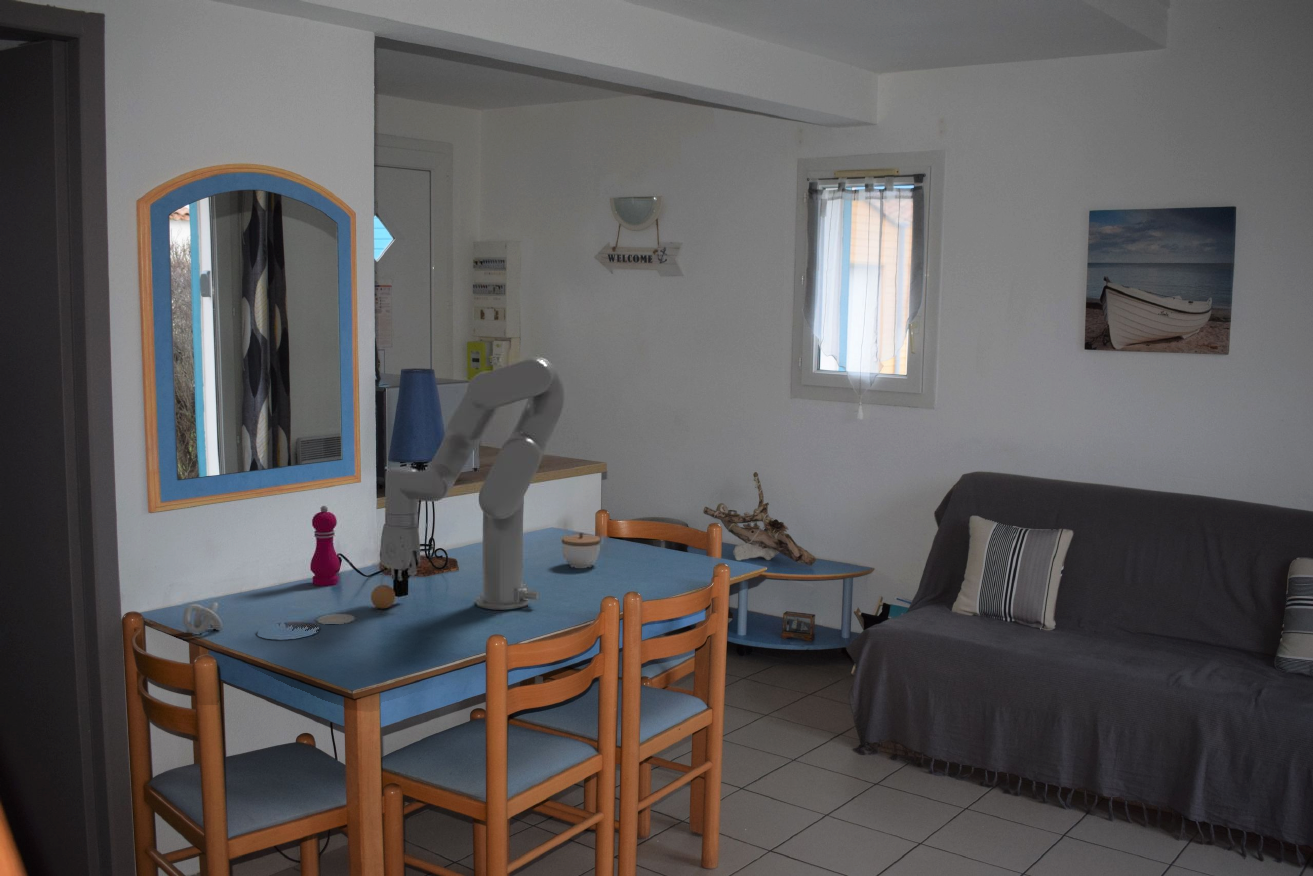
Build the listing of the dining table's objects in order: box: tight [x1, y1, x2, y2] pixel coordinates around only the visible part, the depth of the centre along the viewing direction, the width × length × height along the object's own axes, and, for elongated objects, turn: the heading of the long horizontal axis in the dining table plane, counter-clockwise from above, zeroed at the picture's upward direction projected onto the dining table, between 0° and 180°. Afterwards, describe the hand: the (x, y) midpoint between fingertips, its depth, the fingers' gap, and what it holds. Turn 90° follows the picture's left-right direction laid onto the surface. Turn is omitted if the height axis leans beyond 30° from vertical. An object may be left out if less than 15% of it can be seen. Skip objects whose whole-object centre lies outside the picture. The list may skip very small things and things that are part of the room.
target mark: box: [277, 621, 321, 632], centre depth 235 cm, size 13×13×1 cm
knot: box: [182, 601, 223, 634], centre depth 234 cm, size 8×8×6 cm
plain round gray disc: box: [316, 613, 355, 625], centre depth 244 cm, size 8×8×1 cm
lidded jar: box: [561, 531, 602, 569], centre depth 300 cm, size 11×11×9 cm
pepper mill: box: [309, 505, 341, 587], centre depth 275 cm, size 7×7×20 cm
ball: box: [370, 584, 396, 609], centre depth 254 cm, size 6×6×6 cm
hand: (400, 595), depth 259 cm, fingers closed
